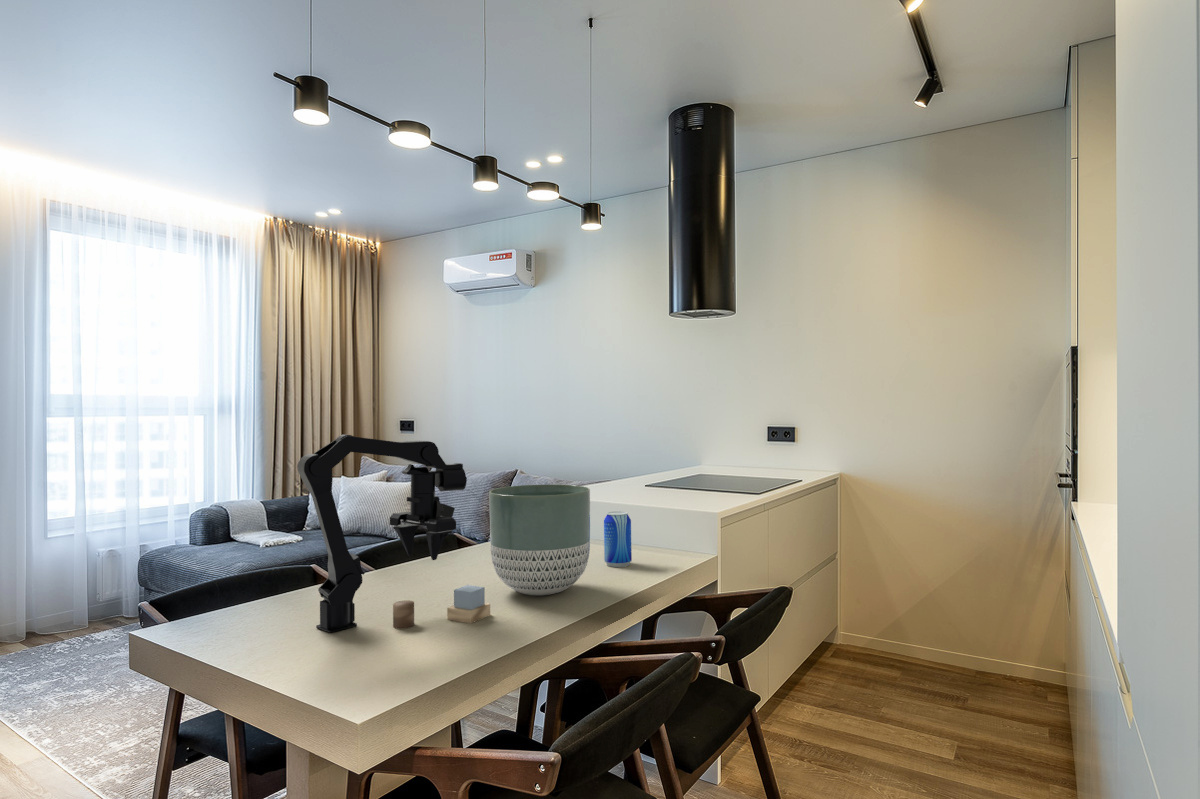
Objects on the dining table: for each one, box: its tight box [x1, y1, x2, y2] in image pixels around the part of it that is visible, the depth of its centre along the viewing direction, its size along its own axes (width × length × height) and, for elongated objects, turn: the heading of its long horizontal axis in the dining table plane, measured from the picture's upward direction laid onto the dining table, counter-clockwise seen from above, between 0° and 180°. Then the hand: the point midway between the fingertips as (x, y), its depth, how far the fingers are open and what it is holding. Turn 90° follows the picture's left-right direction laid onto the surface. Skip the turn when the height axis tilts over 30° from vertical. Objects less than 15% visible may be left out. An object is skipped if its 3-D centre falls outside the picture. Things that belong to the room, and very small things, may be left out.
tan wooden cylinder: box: [392, 599, 415, 630], centre depth 154 cm, size 5×5×5 cm
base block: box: [446, 602, 491, 624], centre depth 159 cm, size 7×7×3 cm
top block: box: [453, 584, 486, 610], centre depth 159 cm, size 5×5×4 cm
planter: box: [488, 483, 591, 596], centre depth 181 cm, size 27×27×27 cm
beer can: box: [603, 510, 633, 568], centre depth 211 cm, size 8×8×16 cm
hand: (421, 557), depth 165 cm, fingers open, 9 cm apart
